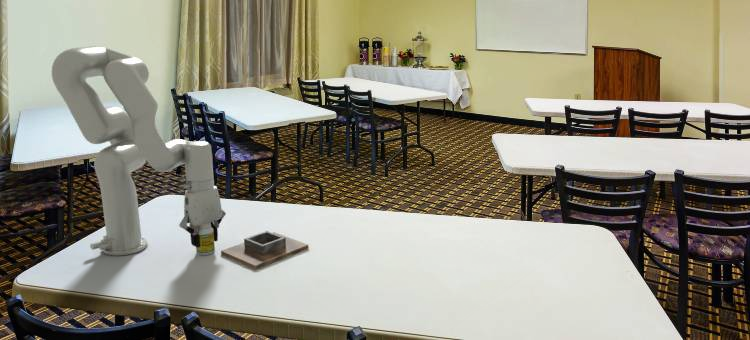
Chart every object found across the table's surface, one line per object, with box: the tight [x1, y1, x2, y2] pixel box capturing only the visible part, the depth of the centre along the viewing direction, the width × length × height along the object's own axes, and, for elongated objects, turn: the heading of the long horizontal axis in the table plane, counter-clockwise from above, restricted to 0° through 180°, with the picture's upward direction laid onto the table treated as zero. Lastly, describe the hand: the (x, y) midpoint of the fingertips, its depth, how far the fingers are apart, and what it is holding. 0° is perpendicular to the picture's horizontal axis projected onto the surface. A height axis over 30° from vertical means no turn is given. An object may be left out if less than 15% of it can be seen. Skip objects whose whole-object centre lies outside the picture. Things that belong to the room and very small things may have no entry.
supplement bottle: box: [195, 223, 216, 256], centre depth 175 cm, size 5×5×10 cm
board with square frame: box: [220, 230, 310, 270], centre depth 176 cm, size 20×16×4 cm
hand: (204, 242), depth 175 cm, fingers closed on supplement bottle, 5 cm apart
